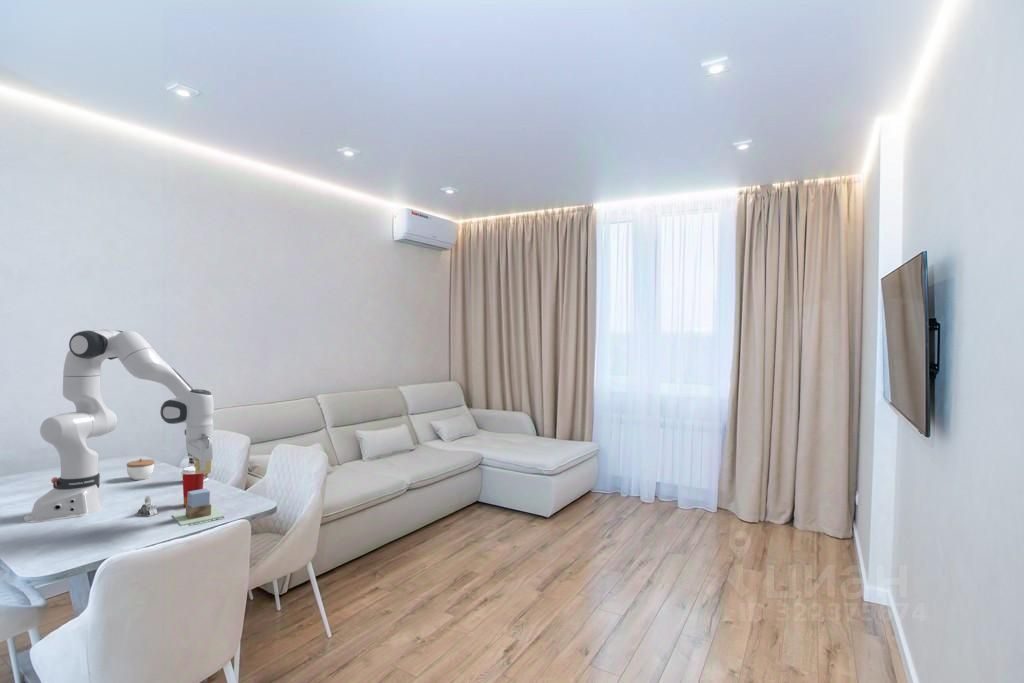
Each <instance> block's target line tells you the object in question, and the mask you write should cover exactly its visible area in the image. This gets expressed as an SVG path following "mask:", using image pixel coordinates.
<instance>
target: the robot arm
mask: <svg viewBox="0 0 1024 683" xmlns="http://www.w3.org/2000/svg"><path fill="white" fill-rule="evenodd" d="M68 346H69V350H68V351H67V353H66V356H65V360H64V364H63V373H62V374H63V375H62V376H63V377H62V396H63V397H64V399H66V400H68V401H70V402H72V403H73V404H74V406H75V411H72V412H63V413H59V414H56V415H53V416H50V417H48V418H45V419H44V420H43V422H41V425H40V427H39V434H40V437H41V438H42V439H43V440H44V441H45V442H46V443H48V444H50V445H52V446H53V447H54V448H55V450H56V451H57V453H58V456H59V461H60V477H52V478H51V480H50V481H51V483H52V484H53V485H52V486H53V487H52V489H50V490H49V491H48V492H46V493H44V495H42V496H40V497H39V498H38V499H37V500H36V501H35V502H34V503H33V506H32V509H31V512H29V513H27V514H25V515H24V517H23V522H25V523H27V524H35V523H36V524H37V523H44V522H51V521H53V522H54V521H60V520H69V519H75V518H76V519H77V518H82V517H83V518H84V517H86V516H88V515H90V514H93V513H96V512H98V511H101V510H102V509H103V507H104V506H103V504H102V502H101V496H100V489H99V488H100V485H101V476H100V472H99V461H100V460H99V457H100V456H99V454H98V452H97V451H95V450H94V449H92V448H89V447H88V444H87V442H86V440H87V439H91V438H97V437H101V436H104V435H107V434H109V433H111V432H112V431H114V430H115V429H116V427H117V425H118V417H117V415H116V413H115V412H114V411H113V410H111V409H110V408H109V407H107V405H106V404H105V402H104V400H103V396H102V391H101V390H102V389H101V381H102V380H101V378H102V376H101V374H102V373H101V372H102V370H101V369H102V364H103V362H104V361H106V360H110V361H111V360H114V359H118V360H119V361H120V363H121V364H122V366H123V367H124V368H125V369H126V371H127V372H128V373H129V374H130V375H132V376H133V377H134V378H137V379H141V380H145V381H150V382H156V383H159V384H161V385H163V386H165V387H166V388H167V389H168V390H169V392H171V393H172V394H173V395H174V396H175V397H174V398H171V399H167V400H165V401H164V402H163V403H162V405H161V407H160V410H159V411H160V412H159V413H160V416H161V419H162V421H164V422H165V423H167V424H171V425H173V424H174V425H176V424H181V423H185V424H186V425H185V426H186V428H185V429H184V432H183V435H184V436H185V443H186V444H185V445H186V446H185V447H186V452H187V454H188V453H189V454H191V455H192V456H193V461H194V467H196V459H199V462H200V464H199V470H200V471H204V470H205V465H206V462H207V461H211V462H212V461H213V459H214V446H213V440H212V439H210V438H213V437H214V430H215V429H214V419H213V417H214V413H215V405H214V404H215V401H214V396H213V394H212V392H211V391H209V390H207V389H199V388H198V389H196V388H195V389H194V388H193V387H192V386H191V385H190V383H188V382H187V381H186V379H185V378H183V376H182V375H181V374H180V373H179V372H177V370H175V368H174V367H172V366H171V365H169V363H167V362H166V361H165V360H164V359H162V357H161V356H159V354H158V352H156V351H155V350H154V348H153V347H152V346H151V344H150V343H149V342H148V341H147V340H146V339H145V338H144V337H143V336H142V335H141V334H140V333H138V332H136V331H135V330H124V331H122V330H113V329H112V330H111V329H100V330H99V329H98V330H97V329H95V330H83V331H78V332H75V333H73V335H72V336H71V337H70V339H69V343H68ZM189 454H188V455H189Z"/></svg>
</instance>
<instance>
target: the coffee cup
mask: <svg viewBox="0 0 1024 683" xmlns="http://www.w3.org/2000/svg"><path fill="white" fill-rule="evenodd" d="M180 474H181V475H182V492H183V506H184V507H185V506H186V505H187V495H188V492H189V491H195V490H200V489H204V482H203V480H204V474H195V467H194V466H192V467H188V466H187V467H184V468H183V469H182V470H181V472H180Z"/></svg>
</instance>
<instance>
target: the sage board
mask: <svg viewBox="0 0 1024 683" xmlns="http://www.w3.org/2000/svg"><path fill="white" fill-rule="evenodd" d="M172 518H174V520H175V521H176V522H177V523H178V524H179V525H180V526H186V525H187V526H189V525H191V524H196V523H200V522H205V521H209V520H213V519H219V518H224V519H225V515H224V514H223V513H222V512H220V511H219V509H217V508H216V507H215V506H211V515H209V516H204V517H200V518H195V519H189V518H188V517H187V516H186V511H183V512H179V513H178V512H177V513H173V514H172ZM205 523H206V522H205ZM200 524H201V523H200ZM196 525H197V524H196ZM191 526H192V525H191Z"/></svg>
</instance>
